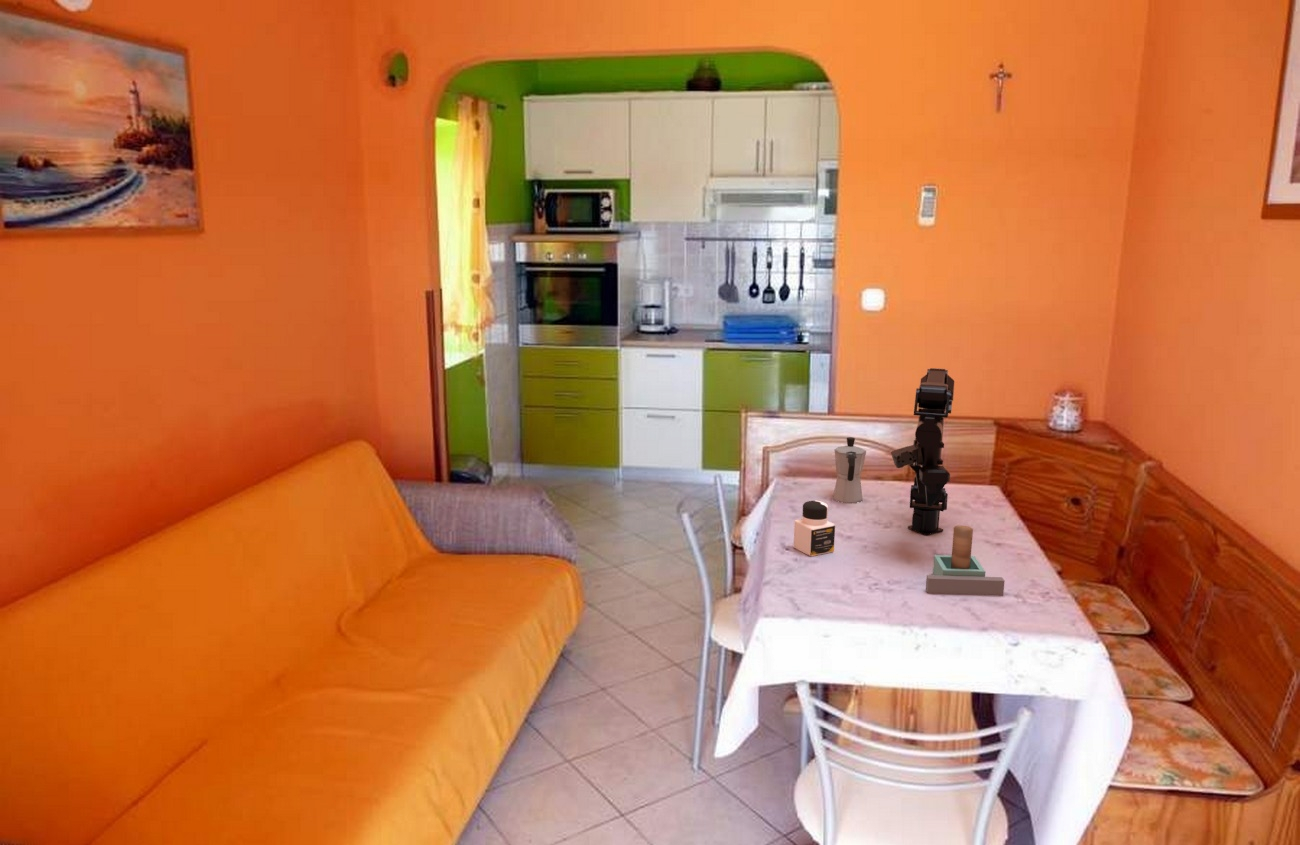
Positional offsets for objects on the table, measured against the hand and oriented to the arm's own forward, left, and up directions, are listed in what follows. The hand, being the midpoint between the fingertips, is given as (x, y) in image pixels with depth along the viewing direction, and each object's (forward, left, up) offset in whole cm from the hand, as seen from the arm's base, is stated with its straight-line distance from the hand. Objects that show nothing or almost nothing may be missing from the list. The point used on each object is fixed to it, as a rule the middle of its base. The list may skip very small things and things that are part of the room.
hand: (925, 500), depth 225 cm
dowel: (+8, +19, -12) cm, 24 cm away
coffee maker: (-12, -39, -13) cm, 43 cm away
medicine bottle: (+22, -14, -13) cm, 29 cm away
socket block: (+7, +18, -13) cm, 23 cm away
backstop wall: (+11, +23, -13) cm, 28 cm away
